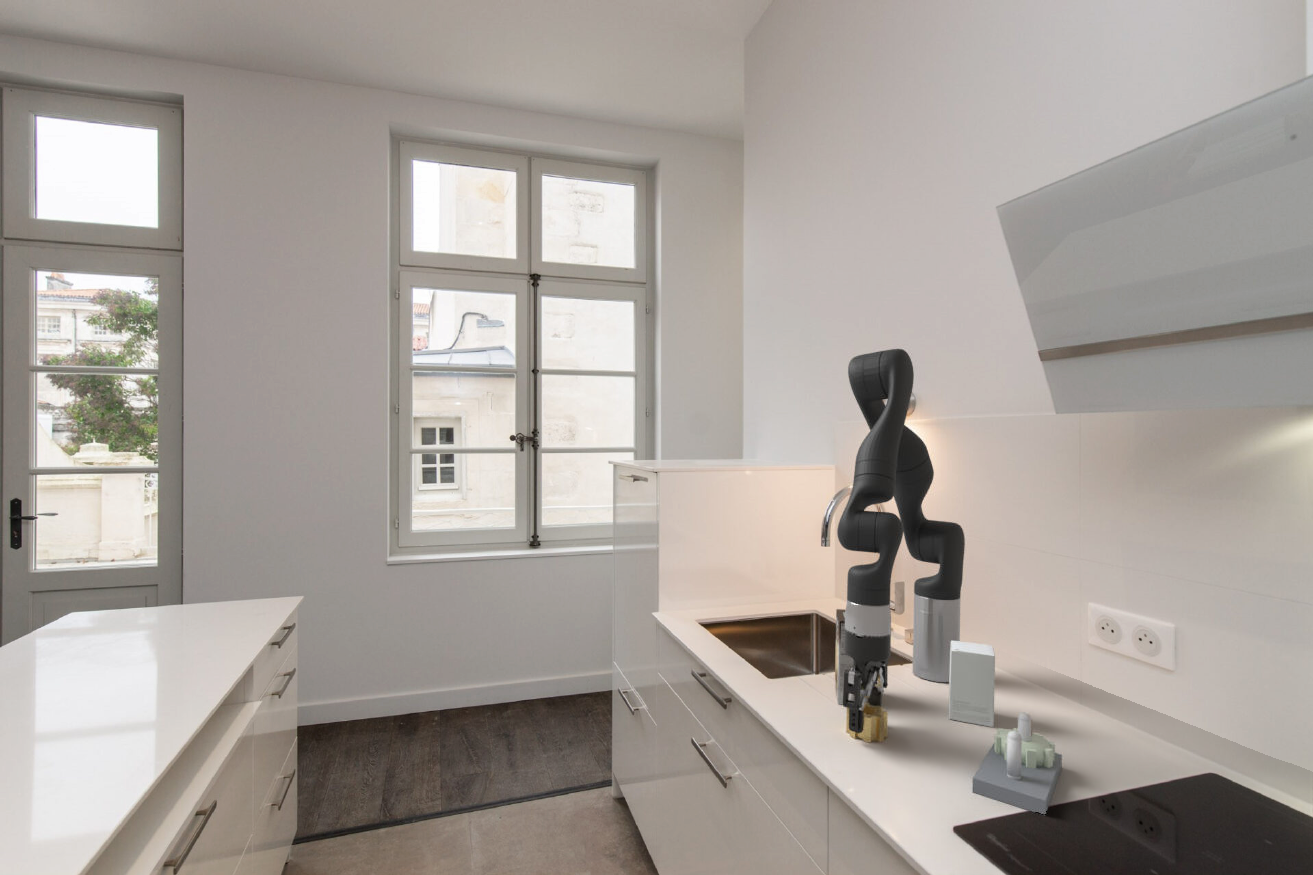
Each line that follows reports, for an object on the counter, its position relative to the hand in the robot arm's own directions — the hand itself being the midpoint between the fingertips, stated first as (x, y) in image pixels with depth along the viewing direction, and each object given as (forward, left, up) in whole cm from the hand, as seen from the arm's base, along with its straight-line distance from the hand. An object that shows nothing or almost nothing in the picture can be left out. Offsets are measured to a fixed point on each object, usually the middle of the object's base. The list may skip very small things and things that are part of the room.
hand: (865, 722), depth 111 cm
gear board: (0, +23, -2) cm, 23 cm away
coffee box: (-14, -8, -2) cm, 16 cm away
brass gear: (0, 0, -2) cm, 2 cm away
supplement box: (-20, +12, -2) cm, 24 cm away
